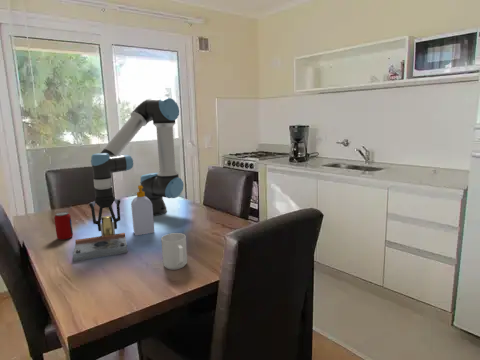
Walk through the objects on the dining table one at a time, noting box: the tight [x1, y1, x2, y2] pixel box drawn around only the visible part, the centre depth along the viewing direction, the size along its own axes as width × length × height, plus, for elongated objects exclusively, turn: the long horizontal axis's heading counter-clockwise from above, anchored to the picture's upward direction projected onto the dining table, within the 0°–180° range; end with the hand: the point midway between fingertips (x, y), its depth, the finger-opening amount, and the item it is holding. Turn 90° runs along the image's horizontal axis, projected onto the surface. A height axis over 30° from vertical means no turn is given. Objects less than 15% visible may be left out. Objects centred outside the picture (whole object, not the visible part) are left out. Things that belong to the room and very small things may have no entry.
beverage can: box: [53, 211, 74, 241], centre depth 155 cm, size 7×7×12 cm
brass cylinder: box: [101, 215, 113, 236], centre depth 153 cm, size 4×4×10 cm
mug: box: [160, 232, 188, 271], centre depth 122 cm, size 12×9×11 cm
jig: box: [72, 232, 129, 262], centre depth 139 cm, size 20×14×4 cm
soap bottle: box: [130, 184, 155, 236], centre depth 159 cm, size 9×7×23 cm
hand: (108, 236), depth 154 cm, fingers closed on brass cylinder, 4 cm apart
